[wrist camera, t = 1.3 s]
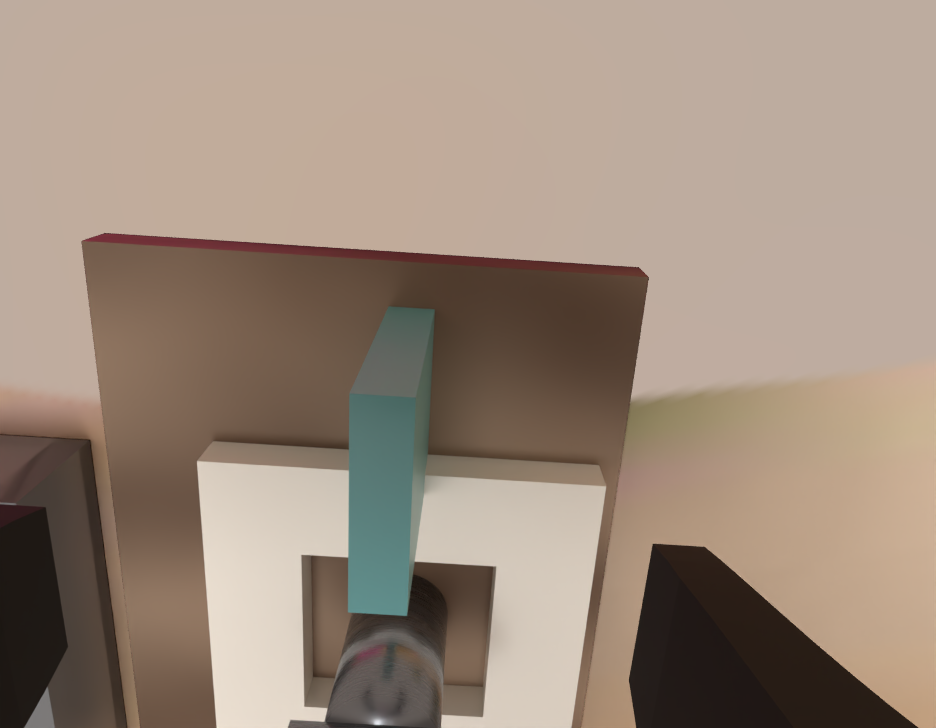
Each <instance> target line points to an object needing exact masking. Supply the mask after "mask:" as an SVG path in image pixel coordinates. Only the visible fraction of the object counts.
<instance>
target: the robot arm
mask: <svg viewBox="0 0 936 728" xmlns="http://www.w3.org/2000/svg"><path fill="white" fill-rule="evenodd" d="M67 648H68V643H67V637H66V631H65V625H64V618H63V612H62V606H61V599H60V593H59V587H58V581H57V574H56V568H55V562H54V556H53V549H52V543H51V537H50V531H49V524H48V518H47V512H46V507H37V506H21V505H4V504H0V728H24V727H25V726H26V724H27V722H28V720H29V719H30V717H31V715H32V713H33V712H34V710H35V708H36V706H37V705H38V703H39V701H40V699H41V698H42V696H43V694H44V692H45V690H46V688H47V687H48V685H49V683H50V681H51V679H52V677H53V675H54V673H55V671H56V669H57V667H58V665H59V664H60V662H61V660H62V658H63V656H64V654H65V652H66V650H67ZM629 683H630V690H631V696H632V703H633V709H634V715H635V722H636V728H918V727H917V726H915V725H914V724H913V723H912V722H910V721H909V720H908V719H906V718H905V717H904V716H903V715H901V714H900V713H899V712H897V711H896V710H895V709H894V708H892V707H891V706H890V705H888V704H887V703H886V702H885V701H884V700H882V699H881V698H880V697H879V696H877V695H876V694H875V693H874V692H873V691H871V690H870V689H869V688H868V687H867V686H865V685H864V684H863V683H862V682H860V681H859V680H858V679H857V678H856V677H854V676H853V675H852V674H851V673H850V672H848V671H847V670H846V669H845V668H844V667H842V666H841V665H840V664H839V663H838V662H836V661H835V660H834V659H833V658H832V657H831V656H829V655H828V654H827V653H826V652H825V651H824V650H822V649H821V648H820V647H819V646H818V645H817V644H815V643H814V642H813V641H812V640H811V639H810V638H809V637H807V636H806V635H805V634H804V633H803V632H802V631H801V630H799V629H798V628H797V627H796V626H795V625H794V624H793V623H791V622H790V621H789V620H788V619H787V618H786V617H785V616H783V615H782V614H781V613H780V612H779V611H778V610H777V609H776V608H774V607H773V606H772V605H771V604H770V603H769V602H768V601H767V600H765V599H764V598H763V597H762V596H761V595H760V594H759V593H758V592H756V591H755V590H754V589H753V588H752V587H751V586H750V585H749V584H747V583H746V582H745V581H744V580H743V579H742V578H741V577H739V576H738V575H737V574H736V573H735V572H734V571H733V570H731V569H730V568H729V567H728V566H727V565H726V564H725V563H723V562H722V561H721V560H720V559H719V558H717V557H716V556H715V555H714V554H712V553H711V552H710V551H709V550H707V549H706V548H705V547H697V546H681V545H664V544H653V546H652V552H651V558H650V563H649V569H648V575H647V580H646V586H645V592H644V597H643V603H642V609H641V615H640V620H639V626H638V632H637V637H636V643H635V649H634V654H633V660H632V666H631V671H630V677H629Z"/></svg>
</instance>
